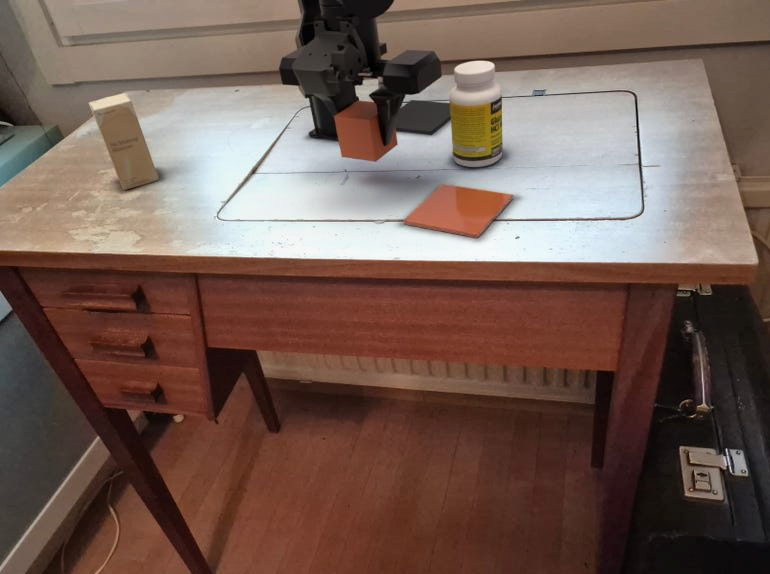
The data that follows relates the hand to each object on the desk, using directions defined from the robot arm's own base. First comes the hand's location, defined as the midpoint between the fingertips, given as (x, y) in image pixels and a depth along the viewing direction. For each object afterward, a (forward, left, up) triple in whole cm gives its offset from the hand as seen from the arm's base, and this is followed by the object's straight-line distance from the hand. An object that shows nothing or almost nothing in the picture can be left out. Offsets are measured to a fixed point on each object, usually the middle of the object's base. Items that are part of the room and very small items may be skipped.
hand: (368, 142), depth 79 cm
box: (-33, -10, -5) cm, 35 cm away
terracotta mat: (+14, -4, -5) cm, 15 cm away
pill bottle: (+10, +9, -5) cm, 14 cm away
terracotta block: (0, 0, -1) cm, 1 cm away
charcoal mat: (-4, +19, -5) cm, 20 cm away
